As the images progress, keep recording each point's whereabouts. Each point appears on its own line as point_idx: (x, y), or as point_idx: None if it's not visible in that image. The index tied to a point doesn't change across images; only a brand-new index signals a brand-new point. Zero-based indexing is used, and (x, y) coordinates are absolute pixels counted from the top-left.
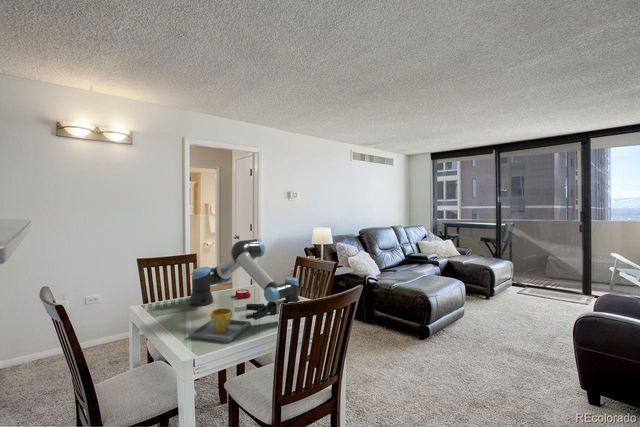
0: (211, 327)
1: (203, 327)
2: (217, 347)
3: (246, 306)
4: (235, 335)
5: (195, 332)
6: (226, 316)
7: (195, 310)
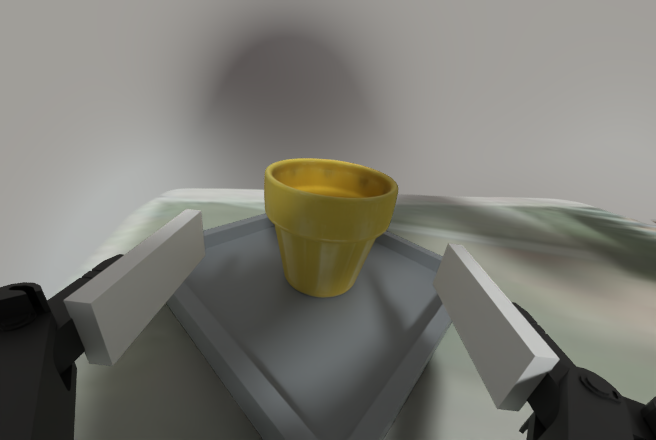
0: (374, 256)
1: None
2: None
3: (552, 378)
4: None
5: None
6: (265, 189)
7: (628, 273)
